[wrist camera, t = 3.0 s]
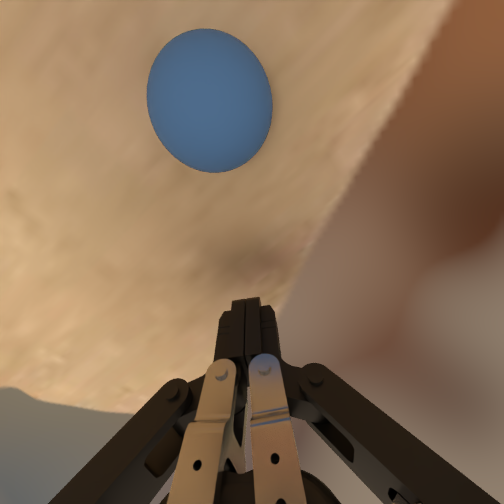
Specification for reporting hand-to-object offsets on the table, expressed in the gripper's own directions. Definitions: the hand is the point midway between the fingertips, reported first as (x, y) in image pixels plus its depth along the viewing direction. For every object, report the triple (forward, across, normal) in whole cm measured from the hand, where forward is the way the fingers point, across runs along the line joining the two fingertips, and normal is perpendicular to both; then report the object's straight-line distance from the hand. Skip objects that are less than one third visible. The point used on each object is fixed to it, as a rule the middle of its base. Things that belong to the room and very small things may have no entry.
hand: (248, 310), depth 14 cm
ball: (+4, 0, -10) cm, 11 cm away
